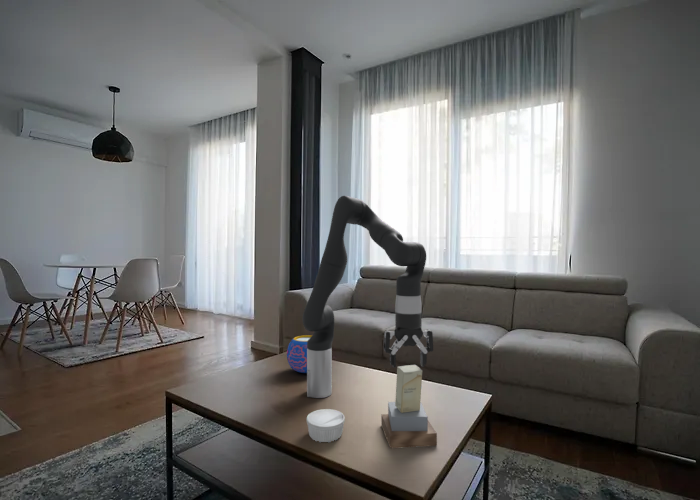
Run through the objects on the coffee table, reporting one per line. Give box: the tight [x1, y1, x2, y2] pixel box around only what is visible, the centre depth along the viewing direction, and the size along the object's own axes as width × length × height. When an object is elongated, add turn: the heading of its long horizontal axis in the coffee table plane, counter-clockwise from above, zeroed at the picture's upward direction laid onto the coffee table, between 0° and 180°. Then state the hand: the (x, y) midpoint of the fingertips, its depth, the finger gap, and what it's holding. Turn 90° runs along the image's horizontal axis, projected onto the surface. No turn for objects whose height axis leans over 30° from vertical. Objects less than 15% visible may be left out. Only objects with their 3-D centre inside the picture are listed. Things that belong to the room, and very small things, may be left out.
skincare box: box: [394, 364, 423, 413], centre depth 106 cm, size 6×4×12 cm
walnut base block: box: [380, 413, 438, 449], centre depth 106 cm, size 13×13×4 cm
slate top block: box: [387, 401, 429, 431], centre depth 106 cm, size 10×10×4 cm
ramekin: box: [306, 408, 346, 443], centre depth 106 cm, size 11×11×5 cm
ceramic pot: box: [286, 334, 313, 374], centre depth 162 cm, size 18×18×15 cm
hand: (408, 366), depth 106 cm, fingers open, 8 cm apart
